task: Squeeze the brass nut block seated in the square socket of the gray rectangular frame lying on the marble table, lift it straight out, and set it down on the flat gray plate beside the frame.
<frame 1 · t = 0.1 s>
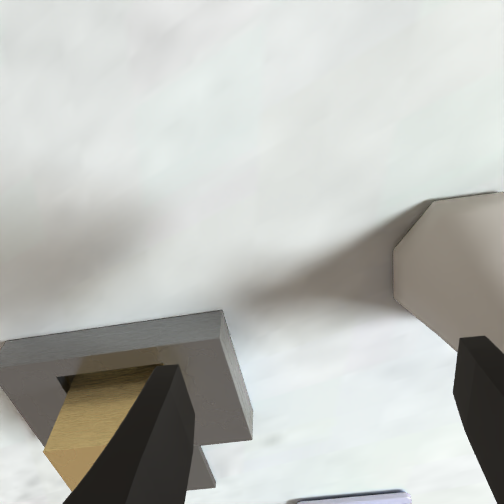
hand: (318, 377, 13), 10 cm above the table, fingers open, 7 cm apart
nut block: (136, 376, 28), resting in gray rectangular frame
flask: (464, 255, 23), on the table
gray rectangular frame: (135, 377, 28), on the table
flat gray plate: (161, 461, 32), on the table
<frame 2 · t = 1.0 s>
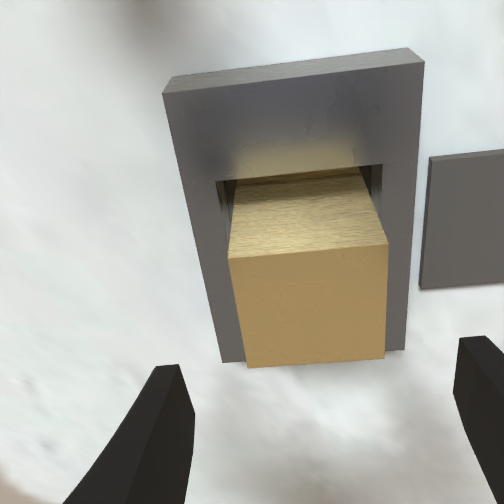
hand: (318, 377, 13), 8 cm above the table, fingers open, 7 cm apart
nut block: (299, 215, 20), resting in gray rectangular frame
gray rectangular frame: (299, 216, 20), on the table
flat gray plate: (499, 218, 20), on the table
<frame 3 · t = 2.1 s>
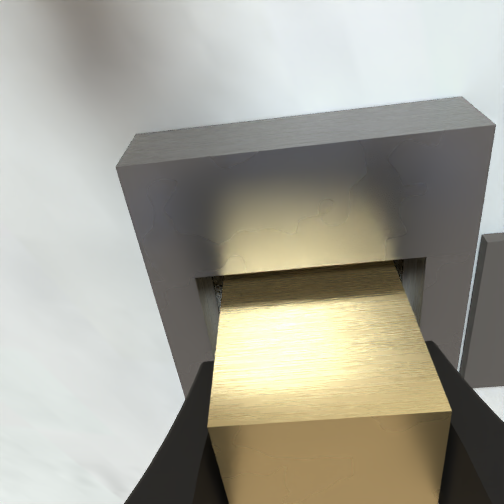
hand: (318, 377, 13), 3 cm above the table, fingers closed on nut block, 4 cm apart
nut block: (308, 303, 15), resting in gray rectangular frame, touching gripper
gray rectangular frame: (308, 303, 15), on the table
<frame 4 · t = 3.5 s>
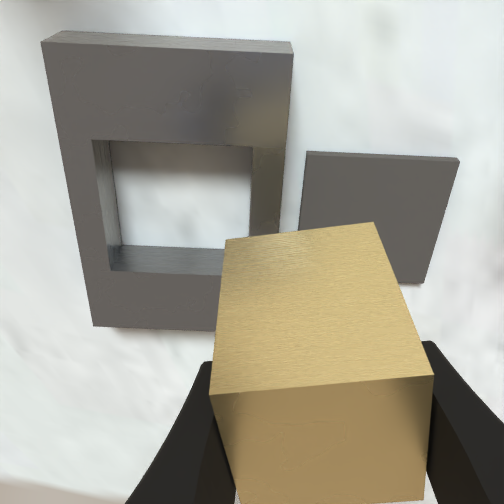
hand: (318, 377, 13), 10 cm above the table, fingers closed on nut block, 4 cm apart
nut block: (305, 288, 16), point 6 cm above the table, touching gripper
gray rectangular frame: (182, 190, 20), on the table
flat gray plate: (368, 219, 21), on the table
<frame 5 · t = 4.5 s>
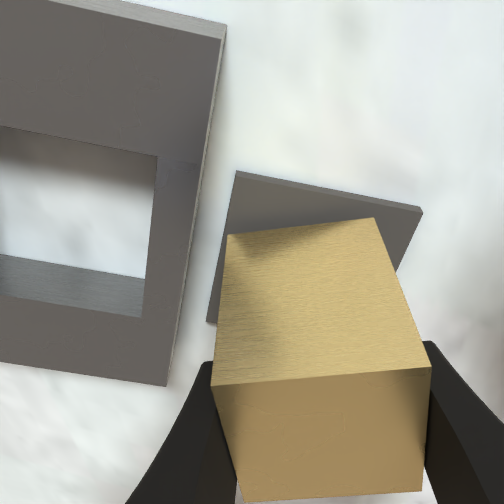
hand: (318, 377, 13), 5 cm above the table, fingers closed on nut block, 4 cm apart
nut block: (306, 283, 16), point 1 cm above the table, touching gripper
gray rectangular frame: (72, 196, 16), on the table
flat gray plate: (304, 264, 17), on the table
when the fingers open (4 cm above the table, at t = 5.2 s): nut block stays where it is, resting on flat gray plate.
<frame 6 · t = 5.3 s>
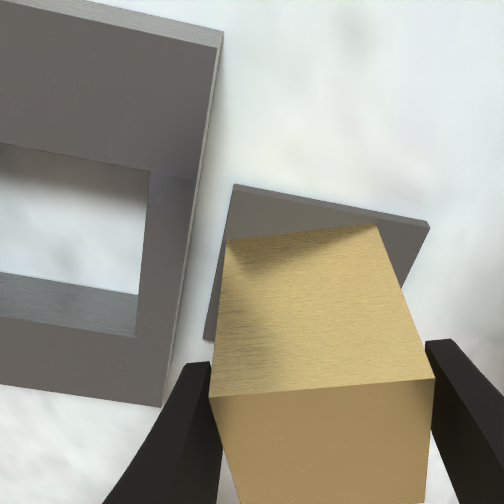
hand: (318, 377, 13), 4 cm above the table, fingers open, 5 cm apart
nut block: (306, 289, 16), resting on flat gray plate
gray rectangular frame: (61, 210, 15), on the table
flat gray plate: (305, 280, 16), on the table
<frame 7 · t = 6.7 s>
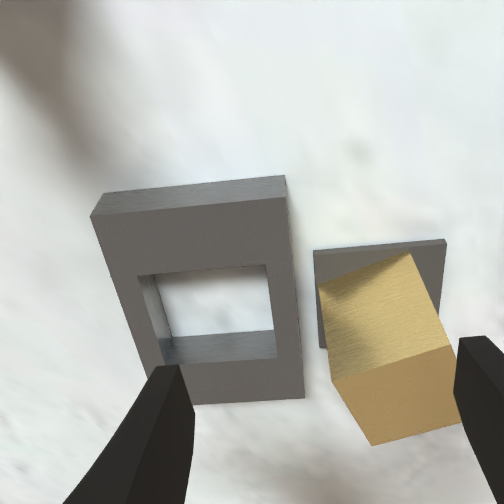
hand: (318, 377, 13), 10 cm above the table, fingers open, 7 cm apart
nut block: (378, 301, 24), resting on flat gray plate
gray rectangular frame: (215, 292, 24), on the table
flat gray plate: (376, 294, 24), on the table
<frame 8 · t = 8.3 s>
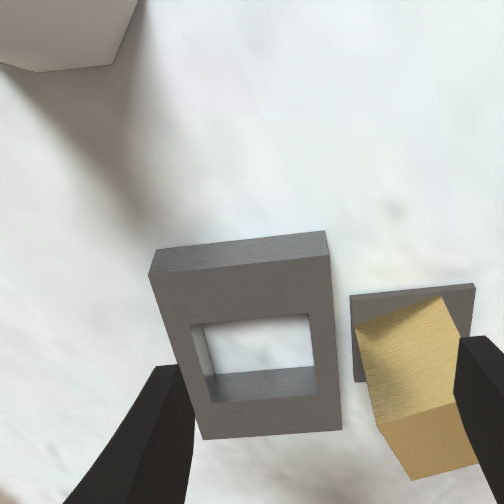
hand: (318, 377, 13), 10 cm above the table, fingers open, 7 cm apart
nut block: (410, 339, 25), resting on flat gray plate
gray rectangular frame: (257, 333, 26), on the table
flat gray plate: (408, 333, 26), on the table
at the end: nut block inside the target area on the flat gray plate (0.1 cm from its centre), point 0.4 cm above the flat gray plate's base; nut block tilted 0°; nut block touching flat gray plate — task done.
